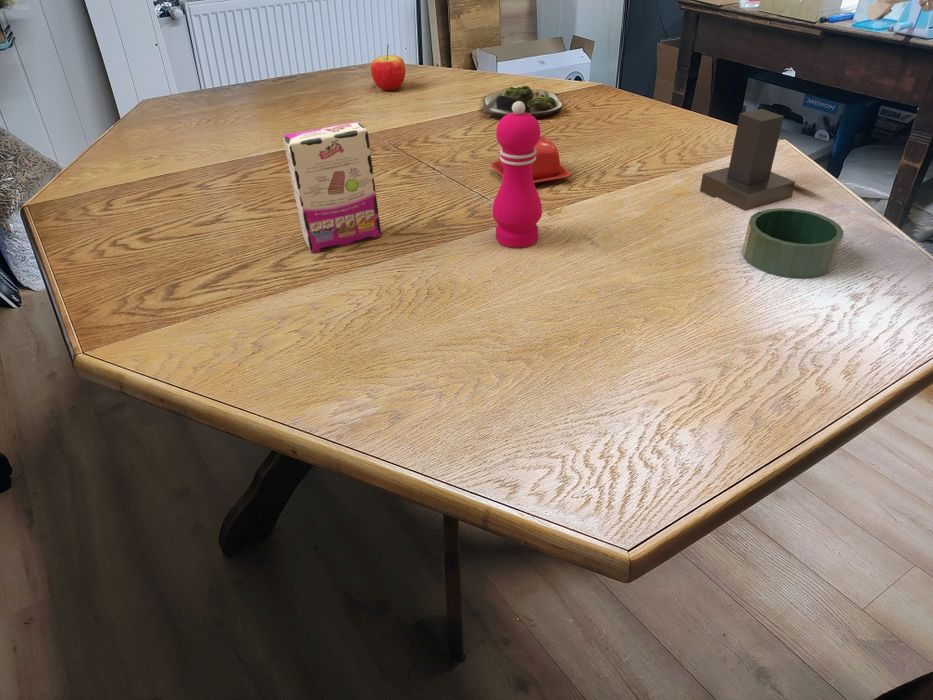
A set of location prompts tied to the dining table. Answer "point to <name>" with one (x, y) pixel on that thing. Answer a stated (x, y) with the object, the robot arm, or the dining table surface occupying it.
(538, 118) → the salad plate
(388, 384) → the dining table surface
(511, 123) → the pepper mill
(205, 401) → the dining table surface
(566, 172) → the butter dish
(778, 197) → the stand
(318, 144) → the candy bar box
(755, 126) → the dark brown block
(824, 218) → the tin
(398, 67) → the apple
